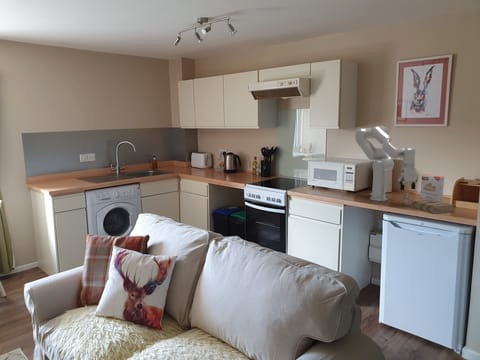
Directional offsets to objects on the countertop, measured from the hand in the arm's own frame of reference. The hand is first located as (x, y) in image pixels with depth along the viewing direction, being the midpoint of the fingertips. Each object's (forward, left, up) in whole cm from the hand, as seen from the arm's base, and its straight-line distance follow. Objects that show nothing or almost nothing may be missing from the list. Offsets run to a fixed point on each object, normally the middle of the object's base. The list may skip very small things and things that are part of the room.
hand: (407, 189), depth 261 cm
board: (+15, +7, -12) cm, 20 cm away
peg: (-1, 0, -12) cm, 12 cm away
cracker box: (0, +22, -12) cm, 25 cm away
